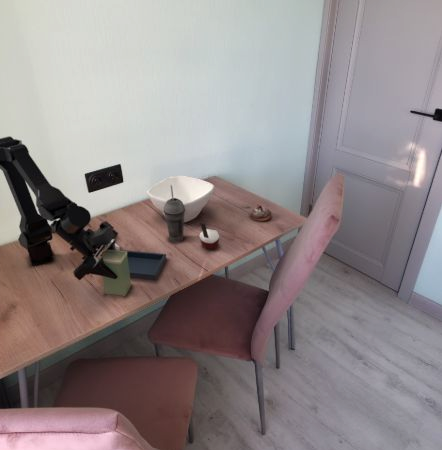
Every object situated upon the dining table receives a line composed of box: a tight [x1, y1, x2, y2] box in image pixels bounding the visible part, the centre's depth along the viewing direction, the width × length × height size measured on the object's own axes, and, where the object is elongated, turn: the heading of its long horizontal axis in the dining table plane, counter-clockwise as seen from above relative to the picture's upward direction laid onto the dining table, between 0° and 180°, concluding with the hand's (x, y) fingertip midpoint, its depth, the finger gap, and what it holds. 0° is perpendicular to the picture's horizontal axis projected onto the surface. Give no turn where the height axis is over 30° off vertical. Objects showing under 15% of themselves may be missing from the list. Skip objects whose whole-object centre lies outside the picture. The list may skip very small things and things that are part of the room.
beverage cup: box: [163, 185, 185, 243], centre depth 136 cm, size 7×7×20 cm
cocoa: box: [199, 222, 220, 250], centre depth 133 cm, size 10×6×12 cm, turn 135°
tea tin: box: [98, 249, 132, 297], centre depth 114 cm, size 5×6×12 cm
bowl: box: [146, 175, 215, 223], centre depth 153 cm, size 22×22×12 cm
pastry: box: [250, 204, 272, 222], centre depth 154 cm, size 8×8×5 cm
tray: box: [119, 249, 167, 281], centre depth 126 cm, size 11×15×2 cm
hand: (120, 272), depth 114 cm, fingers closed on tea tin, 5 cm apart
